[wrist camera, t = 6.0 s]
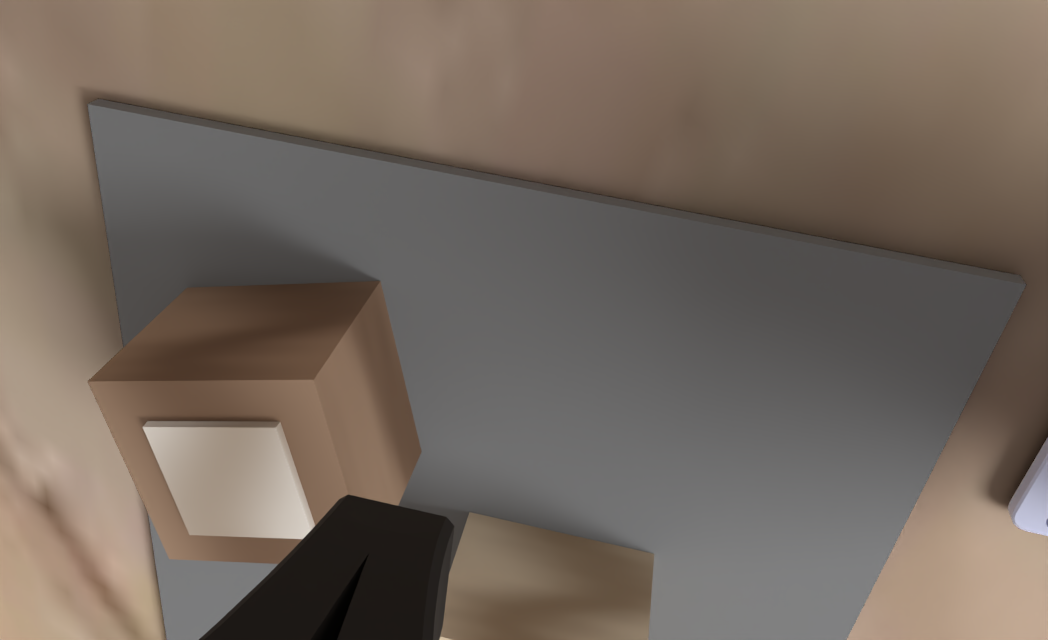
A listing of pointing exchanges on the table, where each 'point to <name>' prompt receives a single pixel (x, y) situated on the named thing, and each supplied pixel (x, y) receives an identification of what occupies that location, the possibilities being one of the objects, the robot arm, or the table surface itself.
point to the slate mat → (585, 360)
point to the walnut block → (260, 414)
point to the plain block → (544, 586)
